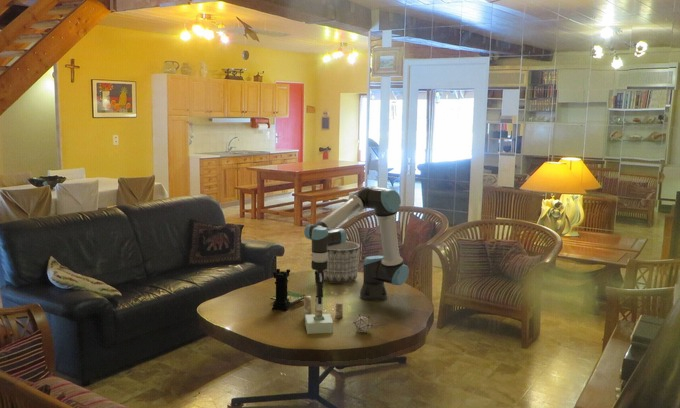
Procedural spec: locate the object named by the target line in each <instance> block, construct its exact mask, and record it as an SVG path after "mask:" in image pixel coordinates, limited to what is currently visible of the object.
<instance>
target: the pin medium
mask: <svg viewBox="0 0 680 408" xmlns="http://www.w3.org/2000/svg"><path fill="white" fill-rule="evenodd" d="M311 314H312V296H311V295H304V297H303V319H304V320H305V315H311Z"/></svg>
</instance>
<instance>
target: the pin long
mask: <svg viewBox="0 0 680 408" xmlns="http://www.w3.org/2000/svg"><path fill="white" fill-rule="evenodd" d="M314 286H315V287H314V290H315V292H314V296H315V297H314V302H315V303H314V310H315V311H314V314H315V317H322V314H323V309H322V310H316V309H317V297H316V296H317V283H315V284H314ZM323 301H324V300H323ZM323 301H322V308H323V306H324V305H323V304H324V302H323Z"/></svg>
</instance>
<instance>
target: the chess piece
mask: <svg viewBox="0 0 680 408" xmlns="http://www.w3.org/2000/svg"><path fill="white" fill-rule="evenodd" d="M290 272H291V269H288V268H287V269H286V270H285V271H282V270H281V269H280V268H276V270H275V271H274V270H273V272H272V275H273V279H275V282H274V284H275V300H274V301H273V305H272V307H271V310H273V311H282V312H284V311H285V312H287V311H288V310H289V309H290V308H291V307H292V304H291V301H290V299H289V298H288V282H289V279H288V277H290Z"/></svg>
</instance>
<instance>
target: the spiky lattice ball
mask: <svg viewBox="0 0 680 408" xmlns="http://www.w3.org/2000/svg"><path fill="white" fill-rule="evenodd" d="M358 316H359V317H357V319H356V320H355V321H353V322H352V324H354V325H355V327H356V328H355V329H356V333H358V332H360V333H361V332H362V333H365V334H366V335H367V334H368V333H367V332H368V331H369V330H370V328H371V327H373V326H374V325H373V324H372V323H371V320H370V316H369V315H368V317H367V316H363V315H361V314H360V313H359V315H358Z"/></svg>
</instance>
